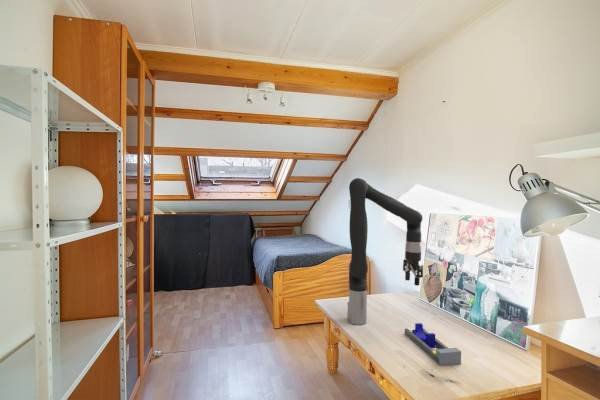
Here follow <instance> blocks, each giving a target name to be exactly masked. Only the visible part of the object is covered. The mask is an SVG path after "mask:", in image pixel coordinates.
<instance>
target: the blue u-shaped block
mask: <svg viewBox="0 0 600 400" xmlns="http://www.w3.org/2000/svg"><path fill="white" fill-rule="evenodd" d="M423 329H424V325H423V323H421V322H415V324H414V329H412V330H411V332H412V333H413V334H415V335H416V336H417V337H418V338H419V339H421V340H422V341H423V342H424V343H425V344H427V345H428V346H429V347H430V348H431V349H434V348H436V346H435V338H436V334H435V333H434V332H431V333H429V332H428V333H427V337H426V336H425V333H424V331H423Z"/></svg>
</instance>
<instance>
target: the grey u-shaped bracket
mask: <svg viewBox="0 0 600 400" xmlns="http://www.w3.org/2000/svg"><path fill="white" fill-rule="evenodd" d="M423 331H424V333H425V336H426V337H427V333H429V332H428V331H427V330H426V329H424V328H423ZM404 335H405V336H407V338H409V339H410V340H411V341H412V342H413V343H414V344H416V346H417V347H419V348H420V349H421V350H422V352H424V353H425V354H426V355H428V356H429V357H430V358H431V359H432V360H434V362H436V364H438V365H439V366H440V367H442V366H451V365H461V364H462V350H460V349H458V348H457V347H448V346H447V345H445V344H444V343H442V342H441V340H438V338H436V337H435V348H436V349H435V350H434V348H430V347H429V346H428V345H427V344H425V343H424V342H423V341H422V340H421V339H419V338H418V337H417V336H416V335H415V334H413V333H412V330H410V329H409V328H404Z"/></svg>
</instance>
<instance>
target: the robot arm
mask: <svg viewBox="0 0 600 400" xmlns="http://www.w3.org/2000/svg"><path fill="white" fill-rule="evenodd" d="M348 190H349V198H350V199H349V200H350V210H349V241H350V247H351V258H350V262H349V268H348V302H347V313H346V314H347V317H346V318H347V319H346V320H347V321H348V322H349V323H350V325H355V326H363V325H365V324H367V312H368V311H367V306H368V303H367V300H368V298H367V297H368V282H367V281H368V280H367V277H368V276H367V273H368V270H369V267H368V260H367V246H368V245H367V243H368V233H369V232H368V231H369V230H368V229H369V228H368V224H369V223H368V217H367V216H368V214H367V210H366V200H369V201H371V202H373V203H374V204H376V205H377V206H379V207H381V208H382V209H384V210H386V211H387V212H388V213H391V214H392V215H395V216H396V217H398V218H400V219H402V220H404V221H405V222H406V236H405V237H406V238H405V239H406V240H405V248H404V249H405V250H404V252H405V253H404V259H403V262H402V264H403V265H402V271H404V273H405V274H404V277H405V279H404V280H405V281H410V280H411V272H412V274H413V276H414V284H413V285H414V286H420V282H421V281H420V280H421V278H423V277H424V265H423V264H419V263H420V262H421V261H422V230H421V227H422V221H423V215H422V213H421V212H419V211H418V210H415V209H414V208H411V207H409V206H407V205H406V204H404V203H403V202H401V201H400V200H397V199H395V198H393V197H391V196H389V195H387V194H386V193H382V192H381V191H379V190H377V189H376V188H374V187H372V186H371V185H370V184H369V183H367V181H366V180H364V178H363V179H362V178H360V177H357V178H354V179H352V180H351V181H350V182H349V186H348Z"/></svg>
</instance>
